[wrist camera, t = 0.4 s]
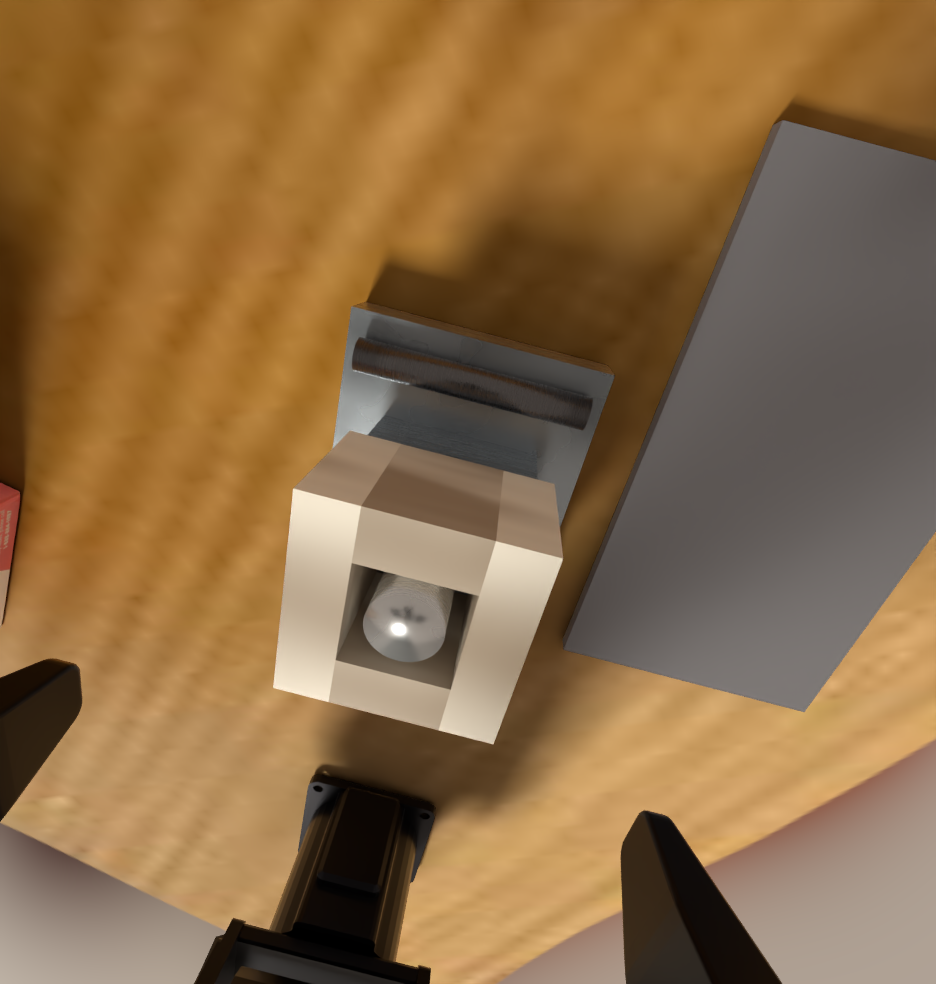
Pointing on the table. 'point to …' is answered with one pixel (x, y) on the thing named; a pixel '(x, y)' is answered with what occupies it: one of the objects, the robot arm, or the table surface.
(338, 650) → the collar
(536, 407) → the vise
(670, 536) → the charcoal mat
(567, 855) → the table surface
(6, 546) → the ink cartridge box
